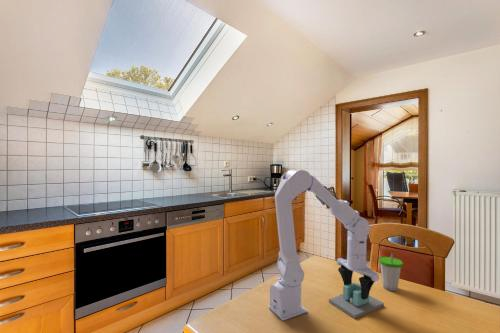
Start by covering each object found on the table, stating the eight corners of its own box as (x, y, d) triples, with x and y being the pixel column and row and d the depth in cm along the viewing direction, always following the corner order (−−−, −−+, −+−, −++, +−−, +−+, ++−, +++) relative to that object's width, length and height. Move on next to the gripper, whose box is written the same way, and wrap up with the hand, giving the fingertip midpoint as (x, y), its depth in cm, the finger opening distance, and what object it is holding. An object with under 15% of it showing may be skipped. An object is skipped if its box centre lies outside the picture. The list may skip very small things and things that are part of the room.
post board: (354, 318, 75) (354, 307, 74) (328, 302, 83) (329, 291, 83) (383, 306, 81) (383, 295, 81) (357, 292, 90) (357, 282, 90)
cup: (384, 281, 98) (384, 243, 98) (406, 289, 92) (406, 248, 92) (374, 287, 93) (374, 247, 93) (396, 296, 87) (397, 253, 87)
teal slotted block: (354, 294, 86) (354, 282, 86) (369, 301, 81) (369, 289, 81) (343, 298, 83) (343, 286, 83) (357, 306, 78) (357, 293, 78)
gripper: (385, 257, 78) (384, 301, 78) (346, 244, 90) (346, 281, 90) (370, 262, 74) (369, 307, 74) (332, 247, 87) (332, 286, 87)
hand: (356, 293), depth 82 cm, fingers open, 6 cm apart
